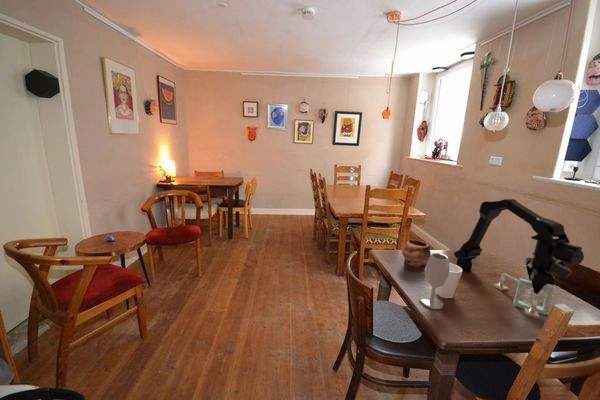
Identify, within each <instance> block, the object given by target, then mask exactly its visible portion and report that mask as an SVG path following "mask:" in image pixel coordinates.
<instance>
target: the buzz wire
mask: <svg viewBox="0 0 600 400" xmlns="http://www.w3.org/2000/svg"><path fill="white" fill-rule="evenodd" d="M506 278H507V279H509V280H511V281H513V282H515V283H517V284H518V282H519V279H517V278H516V277H514V276H511V275H509V274H507V273H506V272H503V273H501V275H500V280H499V282H498V283H493V285H492V286H493V287H494V288H496V289H498V291H499V290H500V291H501V292H502V291H508V290H509V287H508V286H506V285H504V284H505V281H506ZM522 287H524V288H526V289H528V290H529V292H530V294H531V297H532V300H531V303H530V304H531V307H530V309H526V308H523V311H524V315H525V316H527V317H529V318H533V319H537V320H540V313H538V312H537V311H535V310H536V307H537V306H538V303H539V298H538V296H537V294H535V293H534V291H533V288H531V287H527V286H523V285H522Z"/></svg>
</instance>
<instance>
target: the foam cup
mask: <svg viewBox="0 0 600 400" xmlns="http://www.w3.org/2000/svg"><path fill="white" fill-rule="evenodd" d="M462 273H463V271H462V269H461V268H460V267H459V266H457V265H456V263H455V264H454V263H452V262H449V275H448V278H447V280H446V282H445V284H444V285H443V286H440V287H437V288H436V290H435V294H437V295H438V296H440V297H441V298H443V299H447V298H451V299H453V297H454V294H455V292H456V289H457V286H458V284H459V282H460V278H462Z"/></svg>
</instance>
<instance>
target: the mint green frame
mask: <svg viewBox="0 0 600 400" xmlns="http://www.w3.org/2000/svg"><path fill="white" fill-rule="evenodd" d="M518 280H519V282H518V283H517V287H516V291H515V295H514V299H513V301H512V303H513V306H514V307H518V308H521V309H524V308H526V309H530V307H531V303H529V302H526V301H522V300H520V295H521V292H522V287H524V286H527V287H531V288H533V286H532V281H529V279H525V278H520V277H519V279H518ZM522 285H523V286H522ZM540 291H542V292H543V291H544V292H545V296H544V300H543V303H542V306H540V305H537V307H536V310H535V311H537V312H538V314H541V315H545V316H546V315H547V312H548V307H549V305H550V301H551V298H552V293H553V291H554V287H553V285H550V284H546V285H545V286H544V287H543V288H542V289H541V290H540Z"/></svg>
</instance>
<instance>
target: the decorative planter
mask: <svg viewBox="0 0 600 400" xmlns="http://www.w3.org/2000/svg"><path fill="white" fill-rule="evenodd" d="M401 254H402V256H403V258H404V260H403V261H404V262H403V267H404V268H406V269H407V270H409V271H412V272H416V273H420V272H424V271H425V268H426V265H427V262H428V259H429V258H430V256H431V245H430V244H429V243H426V242H424V241H421V240H416V239H409V240H408V241H407V242H406V245H405V247H403V248H402V250H401Z"/></svg>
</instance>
